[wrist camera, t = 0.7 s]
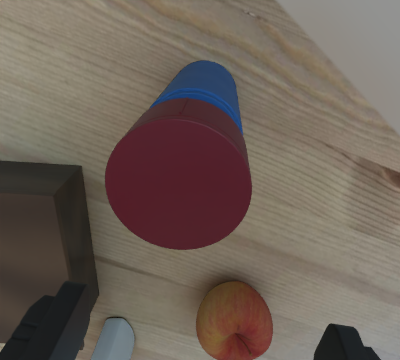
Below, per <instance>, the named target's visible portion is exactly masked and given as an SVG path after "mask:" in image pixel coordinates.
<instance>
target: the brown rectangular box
mask: <svg viewBox="0 0 400 360" xmlns="http://www.w3.org/2000/svg"><path fill="white" fill-rule="evenodd" d="M65 281H72V282H78V283H85V284H89V286H90V313H91V311H92V309H93V307H94V304H95V302H96V300H97V298H98V296H99V290H98V283H97V276H96V269H95V261H94V254H93V247H92V240H91V232H90V225H89V218H88V211H87V203H86V196H85V189H84V182H83V174H82V167H81V166H75V165H59V164H43V163H26V162H10V161H0V343H7V341H8V340H9V338H11V336H12V333H13V332H14V330H15V329H16V327H17V326H18V325H19V324H20V321H21V320H22V318H23V317H24V315H25V314H26V312H27V310H28V309H29V307H30V306H32V305H33V304H34V303H35V302H37V301H38V300H39V299H40V298H42V297H43V296H44V295H48V296H56V294H57V293H58V291H59V289H60V288H61V286H62V284H63V283H64V282H65ZM83 347H84V340H83V342H82V344H81V346H80V349H79V350H83Z"/></svg>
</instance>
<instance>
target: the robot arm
mask: <svg viewBox="0 0 400 360" xmlns="http://www.w3.org/2000/svg"><path fill="white" fill-rule="evenodd" d="M89 321H90V286H89V284H85V283H78V282H72V281H65V282H64V283H63V284H62V286H61V288H60V289H59V291H58V293H57V294H56V296H48V295H44V296H43V297H42V298H40V299H39V300H38V301H37V302H35V303H34V304H33V305H32V306H30V307H29V309H28V310H27V312H26V314H25V315H24V317H23V318H22V320H21V321H20V324H19V325H18V326H17V327H16V329H15V330H14V332H13V333H12V336H11V338H9V340H8V341H7V343H6V344H5V346H4V347H3V349H2V350H1V352H0V360H75V358H76V356H77V354H78V351H79V349H80V346H81V344H82V342H83V339H84V337H85V335H86V332H87V329H88V325H89ZM314 360H381V359H380V358H379V357H378V356H377V354H376V353H375V352H374V351H373V349H372V348H371V347H365V346H364V345H363V343H362V341H361V338H360V336H359V333H358V331H357V330H356V329H355V328H354V327H350V326H344V325H338V324H329V325H328V326H327V328H326V330H325V332H324V334H323V336H322V338H321V340H320V342H319V344H318V346H317V348H316V351H315V353H314Z"/></svg>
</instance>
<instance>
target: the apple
mask: <svg viewBox="0 0 400 360" xmlns="http://www.w3.org/2000/svg"><path fill="white" fill-rule="evenodd" d="M196 330H197V336H198V340H199V342H200V344H201V346H202V348H203V349H204V350H205V351H206V352H207V353H208V354H209V355H210V356H212V357H213V358H215V359H217V360H253V359H255V358H257V357H259V356H260V355H262V354H263V353H264V352H265V351H266V350H267V349H268V348H269V346H270V343H271V340H272V334H273V324H272V318H271V314H270V311H269V308H268V306H267V304H266V303H265V301H264V300H263V298H262V297H261V296H260V294H259V293H258V292H257V291H256V290H255V289H253V288H252V287H251V286H249V285H247V284H246V283H244V282H241V281H230V282H225V283H222V284H220V285H218V286H216V287H214V288H213V289H212V290H211V291H210V292H209V293H208V294H207V295H206V296H205V298H204V299H203V301H202V303H201V305H200V307H199V310H198V314H197V320H196Z"/></svg>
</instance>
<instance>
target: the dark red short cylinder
mask: <svg viewBox="0 0 400 360" xmlns="http://www.w3.org/2000/svg"><path fill="white" fill-rule="evenodd" d="M105 187H106V192H107V196H108V200H109V203H110V205H111V207H112V209H113V211H114V212H115V214H116V216H117V217H118V218H119V220H120V221H121V222H122V223H123V224H124V225H125V226H126V227H127V228H128V229H129V230H130V231H131V232H133V233H134V234H135V235H137V236H138V237H140V238H142V239H143V240H145V241H147V242H149V243H152V244H154V245H157V246H160V247H165V248H169V249H177V250H188V249H197V248H202V247H205V246H208V245H211V244H214V243H216V242H218V241H220V240H221V239H223V238H225V237H226V236H228V235H229V234H230V233H231V232H232V231H233V230H234V229H235V228H236V227H237V226H238V225H239V224H240V222H241V221H242V220H243V218H244V216H245V214H246V212H247V210H248V207H249V205H250V200H251V195H252V182H251V174H250V168H249V162H248V156H247V149H246V145H245V141H244V138H243V135H242V133H241V131H240V129H239V128H238V126H237V125H236V123H235V122H234V121H233V119H232V118H231V117H230V116H229V115H228V114H226V113H225V112H224V111H222V110H221V109H220V108H218V107H216V106H214V105H213V104H210V103H208V102H205V101H202V100H198V99H191V98H188V97H186V98H177V99H171V100H167V101H164V102H161V103H159V104H157V105H155V106H153V107H152V108H150V109H149V110H147V111H146V112H145V113H144V114H143V115H142V116H141V117H140V118H139V119H138V120H137V122H136V123H135V124H134V125H133V126H132V127H131V129H130V130H129V131H128V132H127V133H126V134H125V136H124V137H123V138H122V139H121V140H120V142H119V143H118V144H117V145H116V147H115V148H114V150H113V151H112V153H111V155H110V158H109V160H108V163H107V167H106V173H105Z"/></svg>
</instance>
